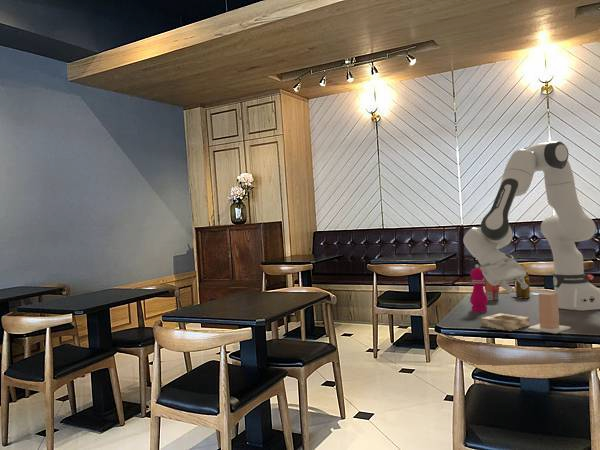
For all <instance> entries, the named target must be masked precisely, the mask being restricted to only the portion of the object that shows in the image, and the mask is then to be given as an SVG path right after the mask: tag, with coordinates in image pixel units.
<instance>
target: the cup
mask: <svg viewBox="0 0 600 450" xmlns="http://www.w3.org/2000/svg"><path fill="white" fill-rule="evenodd" d="M483 279H484V283H483V287H484V292H485V294H486V296H487V298H488V301H497V300H499V295H500V287H501V286H500V285H495V286H492V285H491V284H490V283H489V282H488V281H487V280H486V278H485V277H484V278H483Z"/></svg>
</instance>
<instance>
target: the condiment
mask: <svg viewBox="0 0 600 450" xmlns="http://www.w3.org/2000/svg"><path fill="white" fill-rule="evenodd" d="M525 272H526V276H525V277H524V280H525V283H526V284H527V285H528V287H527V288H526V289H522V288H521V287H520V286H521V284H520V283H518V282H517V281H515V296H517V297H522V298H526V297H530V296H531V289H530V288H531V287H530V286H531V285H530V278H529V272H527V271H525ZM530 298H531V297H530Z"/></svg>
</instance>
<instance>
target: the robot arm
mask: <svg viewBox="0 0 600 450" xmlns="http://www.w3.org/2000/svg"><path fill="white" fill-rule="evenodd" d="M535 172H542V173H543V174H544V175H543V176H544V177H543V178H544V179H543V180H544V187H545V194H546V199H547V203H548V204H549V206H550V207H551V208H552V209H553V210H554V211H555V213H556V215H551V216H548V217H547V218H544V220H542V222H541V224H540V232H541V234H542V236H543V237H544V238H545V239H546V240H547V243H548V244H549V247H550V249H551V253H552V257H553V270H554V272H553V278H552V280H553V286H554V289H553V290H554V291H553V293H558V309H561V310H570V311H571V310H572V311H578V312H579V311H592V310H593V311H594V310H600V288H599V287H597V286H595V285H593V284H592V283H590V282H589V280H590V281H593V279H594V278H595V277H594V275H592V274H586V273H585V272H584V270H585V269H584V256H583V253H582V252H581V251H579V249H578V248H577V246H576V244H575V243H577V242H584V241H588V240H591V239H592V238H593V237H594V235H595V233H596V228H597V227H596V223H595V221H594V220H593V219H592V218H590V217H589V216H588V215H587V214H586V213H585V210H583V208H582V205H581V204H580V202H579V201H580V200H579V199H578V195H577V190H576V189H577V188H576V184H575V177H574V174H573V170H572V166H571V164H570V162H569V150H568V147H567V146H566V144H565V143H563V142H562V141H558V140H556V141H555V140H552V141H547V142H541V143H537V144H534V145H531V146H528V147H527V146H526V147H524V148H521V149H517V150H515V151H514V152H513V153H512V154H511V155H510V157H509V159H508V162H507V163H506V165H505V168H504V172H503V174H502V176H501V177H502V178H501V181H500V186H499V189H498V191H497V193H496V195H495V196H496V197H495V199H494V201H493V203H492V205H491V208H490V210H489V211H488V212H487V214H485V215H484V217H483V218H482V220H481V222H480V227H470V228H469V229H468V230H467V231H466V233H465V234H464V236H463V238H462V240H463V241H462V242H463V244H464V247H465V248H466V249H467V250H468V252H469V253H470V254H471V255H472V257H474V258H475V259H477V261H478V263H479V268H480V269H481V270H482V274H483V275H484V277H485V278H486V280H487V281H488V282H489V283H490V284H491V285H492V286H495V285H500V286H499V287H500V288H502V289H503V290H505V291H506V292H507V293H509V294H510V293H512V292H513V291H514V289H515V288H513V286H511V285H509V284H508V283H513V282H516V281H517V282H518V283H520V284H521V286H520V287H521V288H522V289H526V288H527V287H528V285H527V284H526V283H525V280H524V277H525V276H526V272H527V271H526V270H525V268H524V267H522V266H521V265H520V263H518V261H516V260H514V259H515V258H514V256H513V255H512V254H509V253H504V252H502V251H500V250H501V249H503V248H505V247H507V246H508V245H509V244H510V243H511V242H512V240H513V238H514V234H513V231H512V228H511V225H510V222H509V213H510V210H511V208H512V205H513V202H514V199H515V198H516V197H519V196H520V197H521V196H523V195H525V194H526V193H527V191H528V190H529V188H530V186H531V184H532V181H533V178H534V176H535V175H534V174H535Z"/></svg>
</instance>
